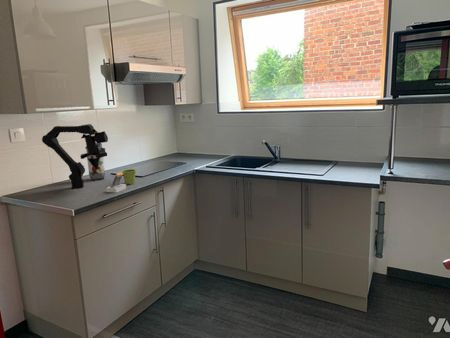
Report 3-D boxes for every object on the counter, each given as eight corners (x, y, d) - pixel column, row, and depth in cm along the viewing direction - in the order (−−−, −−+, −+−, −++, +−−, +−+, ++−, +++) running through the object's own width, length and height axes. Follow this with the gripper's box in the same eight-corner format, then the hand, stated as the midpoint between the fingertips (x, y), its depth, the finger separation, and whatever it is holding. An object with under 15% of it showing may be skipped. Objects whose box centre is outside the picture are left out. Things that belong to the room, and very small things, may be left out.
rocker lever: (111, 185, 209) (115, 173, 207) (116, 183, 214) (121, 172, 212) (113, 187, 209) (118, 175, 206) (118, 184, 214) (123, 173, 211)
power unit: (106, 191, 209) (106, 185, 208) (116, 187, 218) (116, 181, 217) (116, 192, 206) (115, 185, 206) (126, 188, 216) (125, 181, 215)
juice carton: (89, 178, 246) (85, 140, 240) (105, 177, 249) (101, 139, 244) (89, 181, 238) (85, 142, 232) (105, 179, 241) (101, 141, 236)
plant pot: (125, 186, 221) (124, 172, 220) (120, 183, 229) (119, 170, 227) (139, 183, 227) (138, 170, 225) (133, 181, 234) (132, 168, 232)
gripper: (111, 141, 218) (116, 165, 221) (91, 142, 227) (96, 166, 231) (97, 144, 209) (102, 169, 212) (77, 146, 218) (83, 170, 221)
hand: (96, 168), depth 219 cm, fingers closed
